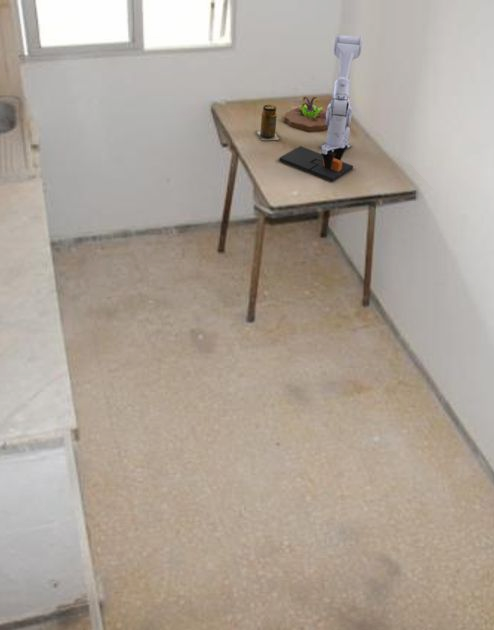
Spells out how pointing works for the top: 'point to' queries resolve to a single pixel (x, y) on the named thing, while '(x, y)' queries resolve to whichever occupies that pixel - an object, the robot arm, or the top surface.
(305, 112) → the plant
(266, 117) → the condiment
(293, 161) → the black pad
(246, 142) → the top surface
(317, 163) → the charcoal pad
